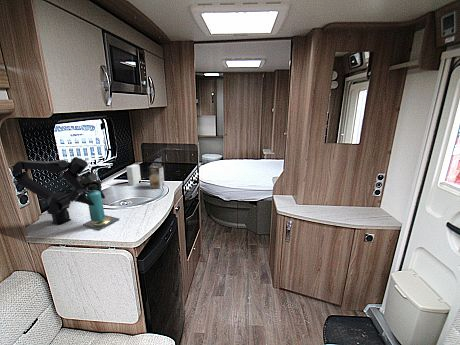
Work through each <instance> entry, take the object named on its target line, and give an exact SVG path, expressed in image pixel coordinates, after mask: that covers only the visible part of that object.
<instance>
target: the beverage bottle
mask: <svg viewBox="0 0 460 345" xmlns="http://www.w3.org/2000/svg"><path fill="white" fill-rule="evenodd" d="M96 189H97V185H96V184H92V185H91V184H90V185H88V190H89V191H87V193H86V196H87V197H88V198H89V199H90V200H91V201H92V202H93V203H94V205H93V206H92V205H88V209H89V210H88V211H89V217H90V220H92V221H93V222H98V221H102V220H104V219H105V209H104V204H103V198H101V192H100V191H98V190H96ZM90 190H93V191H90Z"/></svg>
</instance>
